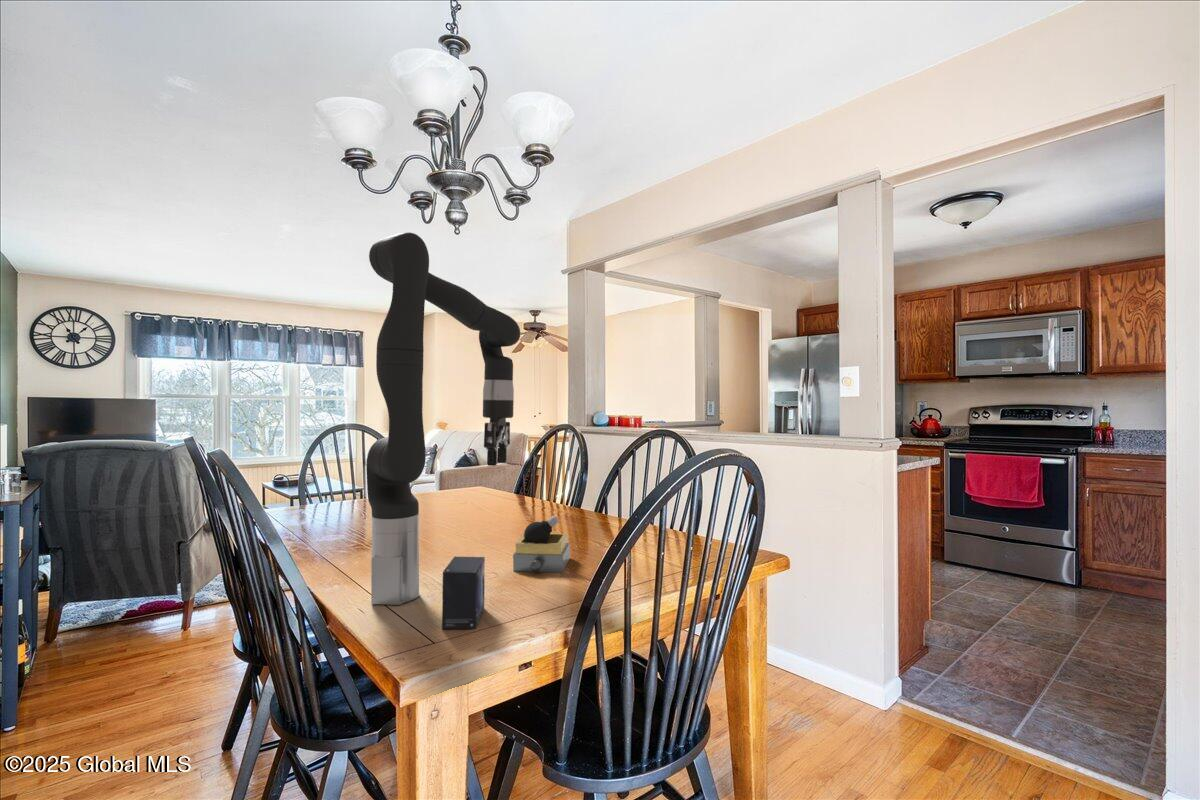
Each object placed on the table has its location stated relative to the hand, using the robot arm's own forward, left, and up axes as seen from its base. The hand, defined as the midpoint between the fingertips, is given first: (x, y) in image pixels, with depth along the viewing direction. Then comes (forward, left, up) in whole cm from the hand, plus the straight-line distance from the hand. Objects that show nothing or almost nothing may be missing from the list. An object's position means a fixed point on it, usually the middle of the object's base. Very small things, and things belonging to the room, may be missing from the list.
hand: (497, 464), depth 142 cm
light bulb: (+1, -13, -18) cm, 22 cm away
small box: (-34, -3, -25) cm, 43 cm away
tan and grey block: (0, -11, -25) cm, 27 cm away
